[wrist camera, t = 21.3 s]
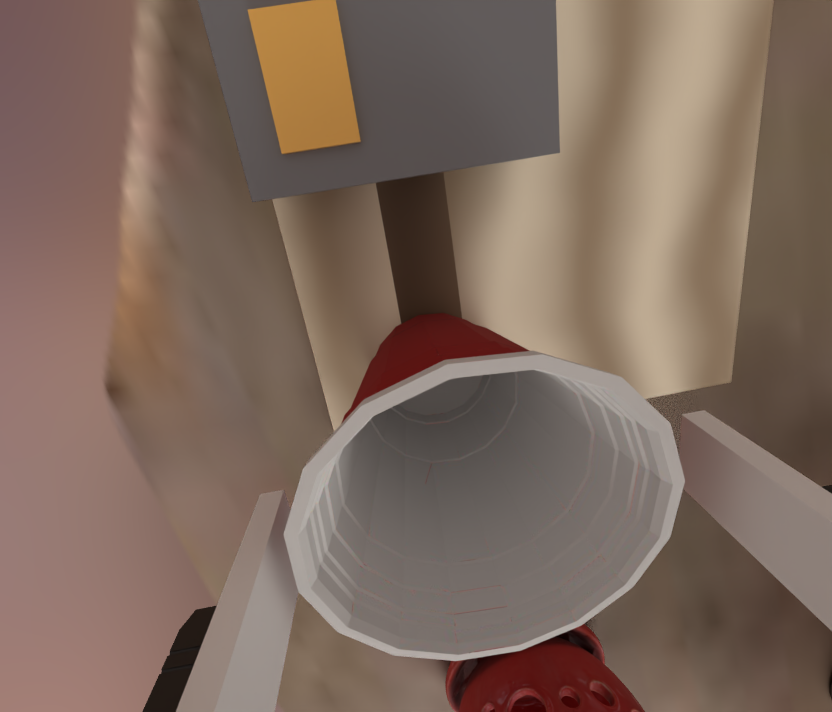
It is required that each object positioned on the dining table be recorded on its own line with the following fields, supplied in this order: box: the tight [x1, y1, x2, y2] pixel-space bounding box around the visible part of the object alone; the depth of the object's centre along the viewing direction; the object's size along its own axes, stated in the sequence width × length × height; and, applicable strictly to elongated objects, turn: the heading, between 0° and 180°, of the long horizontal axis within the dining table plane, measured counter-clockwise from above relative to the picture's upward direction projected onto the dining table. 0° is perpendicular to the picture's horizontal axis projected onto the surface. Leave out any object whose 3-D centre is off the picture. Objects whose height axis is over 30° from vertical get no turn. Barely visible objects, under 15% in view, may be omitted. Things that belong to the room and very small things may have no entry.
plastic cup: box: [284, 313, 685, 661], centre depth 17 cm, size 11×11×12 cm
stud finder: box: [198, 0, 560, 202], centre depth 16 cm, size 10×6×6 cm, turn 98°
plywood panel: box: [272, 0, 774, 431], centre depth 21 cm, size 22×20×2 cm
